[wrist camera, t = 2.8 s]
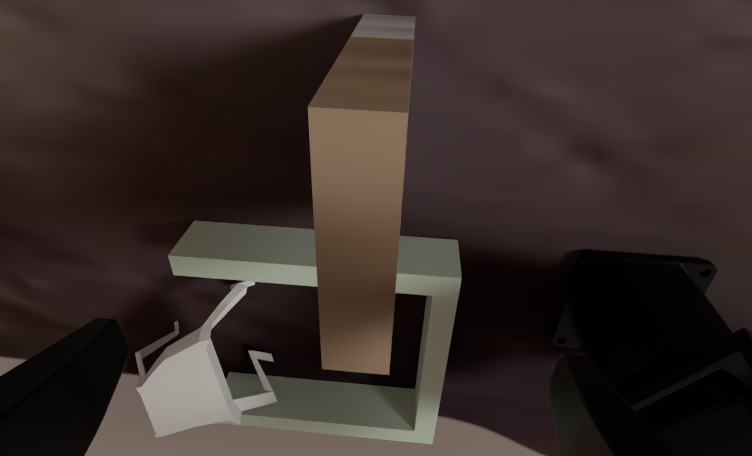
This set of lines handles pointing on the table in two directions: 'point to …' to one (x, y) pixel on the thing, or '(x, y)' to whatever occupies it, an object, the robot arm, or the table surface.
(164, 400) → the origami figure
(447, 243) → the green c-shaped bracket
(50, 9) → the table surface
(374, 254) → the two-tone wooden slab
